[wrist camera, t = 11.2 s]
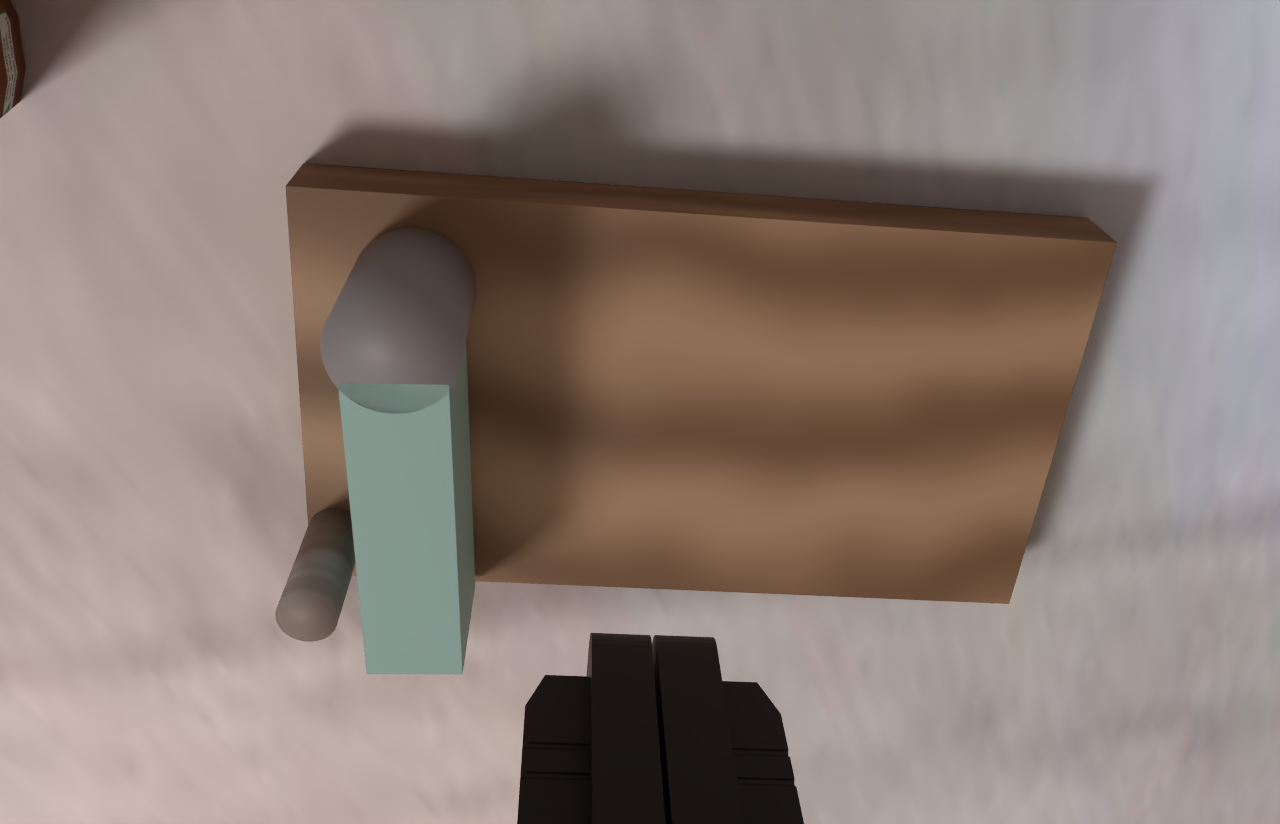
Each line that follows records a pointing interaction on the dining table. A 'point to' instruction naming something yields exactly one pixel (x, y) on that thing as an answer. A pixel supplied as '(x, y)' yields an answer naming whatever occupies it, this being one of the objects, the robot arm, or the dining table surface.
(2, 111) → the food container
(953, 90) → the dining table surface
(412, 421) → the hinged leg
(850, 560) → the board
